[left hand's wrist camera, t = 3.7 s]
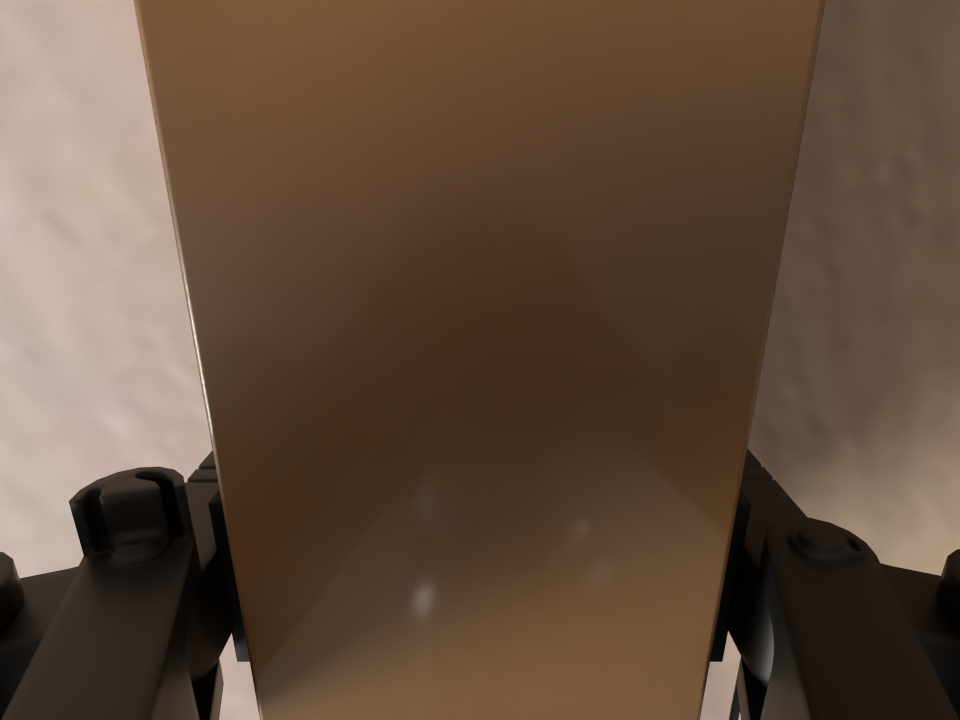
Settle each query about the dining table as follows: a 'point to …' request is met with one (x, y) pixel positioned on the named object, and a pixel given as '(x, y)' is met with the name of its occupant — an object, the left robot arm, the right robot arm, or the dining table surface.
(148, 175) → the dining table surface
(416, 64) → the bar
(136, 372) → the dining table surface
